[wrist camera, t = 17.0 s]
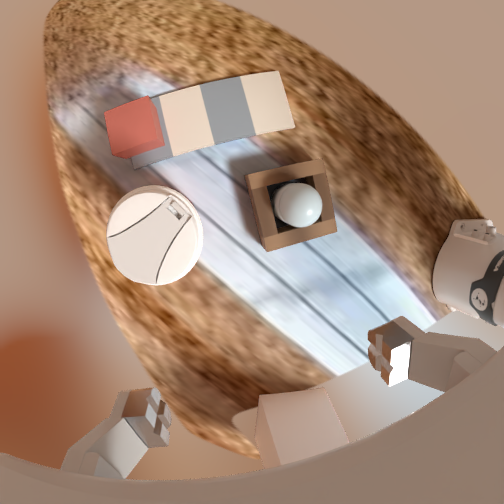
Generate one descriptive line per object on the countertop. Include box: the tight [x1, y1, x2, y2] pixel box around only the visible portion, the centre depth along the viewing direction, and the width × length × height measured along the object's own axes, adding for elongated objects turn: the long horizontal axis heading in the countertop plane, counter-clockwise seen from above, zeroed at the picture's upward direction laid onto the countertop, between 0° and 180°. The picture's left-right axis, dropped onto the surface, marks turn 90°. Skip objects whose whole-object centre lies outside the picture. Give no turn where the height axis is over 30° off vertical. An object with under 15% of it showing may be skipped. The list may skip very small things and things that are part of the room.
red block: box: [104, 96, 165, 159], centre depth 26 cm, size 5×5×5 cm
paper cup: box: [106, 185, 203, 285], centre depth 25 cm, size 8×8×14 cm
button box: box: [244, 158, 337, 252], centre depth 32 cm, size 9×9×3 cm
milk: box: [255, 388, 350, 469], centre depth 30 cm, size 12×12×26 cm
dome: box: [271, 183, 322, 227], centre depth 30 cm, size 5×5×6 cm
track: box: [131, 71, 295, 170], centre depth 29 cm, size 20×8×1 cm, turn 104°
